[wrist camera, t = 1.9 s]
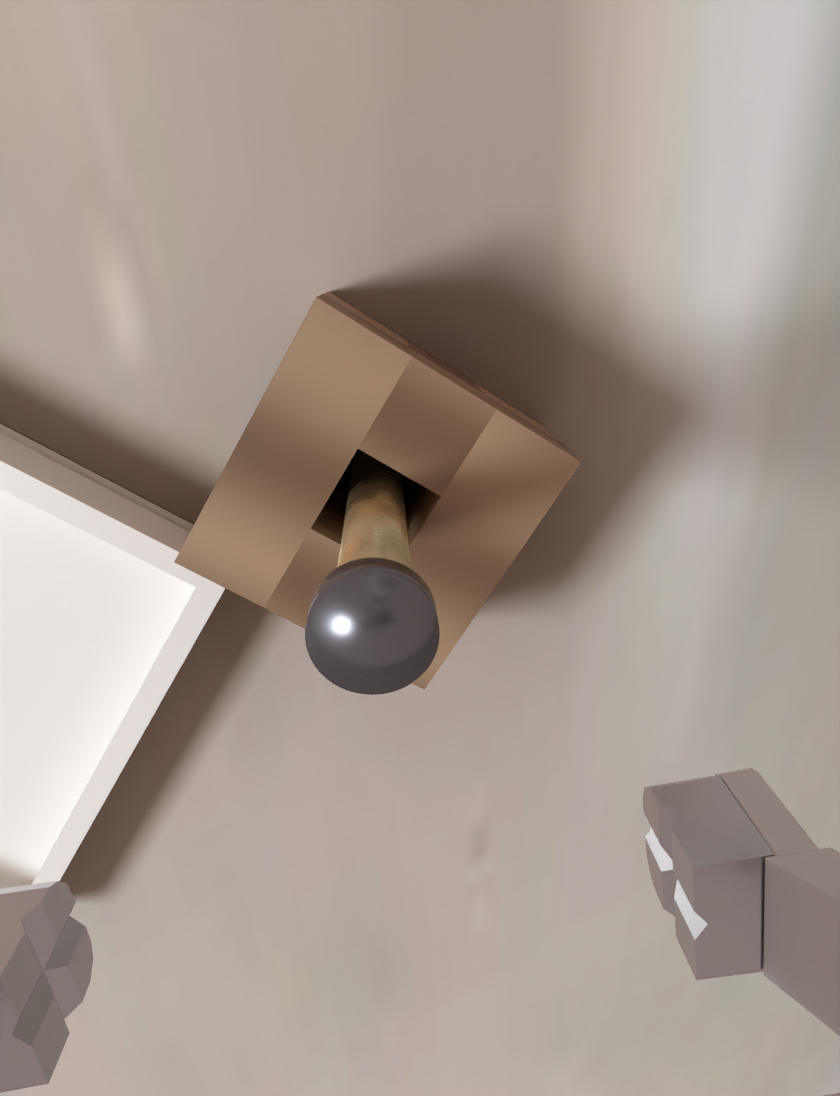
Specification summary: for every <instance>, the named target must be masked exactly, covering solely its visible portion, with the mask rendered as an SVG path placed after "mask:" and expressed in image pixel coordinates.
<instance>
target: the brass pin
mask: <svg viewBox="0 0 840 1096" xmlns="http://www.w3.org/2000/svg"><path fill="white" fill-rule="evenodd" d="M439 638H440V632H439V623H438V617H437V611H436V605H435V601H434V598H433V595H432V593H431V591H430V589H429V587H428V586H427V584H426V583H425V581H424V580H423V579H422V578H421V577H420V576H419V575H418V574H417V573H416V572H414V571H413V570H412V569H411V563H410V553H409V543H408V533H407V523H406V513H405V502H404V492H403V482H402V474H401V473H399V472H398V471H396V470H394V469H392V468H391V467H389V466H387V465H386V464H384V463H382V462H380V461H379V460H377V459H375V458H373V457H372V456H370V455H368V454H367V453H365V452H363V451H361V450H360V451H359V452H358V453H357V454H356V456H355V458H354V460H353V465H352V471H351V478H350V485H349V492H348V499H347V505H346V512H345V519H344V526H343V532H342V539H341V546H340V553H339V560H338V566H337V568H336V569H334V570H333V571H331V572H330V573H329V574H328V575H327V576H326V577H325V578H324V579H323V580H322V581H321V582H320V584H319V585H318V587H317V588H316V590H315V592H314V594H313V597H312V600H311V604H310V608H309V613H308V618H307V623H306V628H305V640H306V646H307V650H308V653H309V656H310V658H311V660H312V662H313V663H314V665H315V667H316V668H317V669H318V670H319V672H320V673H321V674H322V675H323V676H324V677H325V678H327V679H328V680H329V681H331V682H332V683H333V684H335V685H337V686H339V687H341V688H343V689H345V690H348V691H352V692H355V693H360V694H372V695H373V694H384V693H390V692H393V691H396V690H399V689H401V688H404V687H406V686H407V685H409V684H411V683H413V682H414V681H415V680H417V679H418V678H419V677H420V676H421V675H422V674H423V673H424V672H425V671H426V670H427V669H428V667H429V666H430V664H431V663H432V661H433V659H434V657H435V655H436V652H437V649H438V645H439Z"/></svg>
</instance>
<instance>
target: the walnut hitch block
mask: <svg viewBox="0 0 840 1096" xmlns="http://www.w3.org/2000/svg"><path fill="white" fill-rule="evenodd" d="M357 449H360V450H361V451H363V452H365V453H367V454H368V455H370V456H372V457H373V458H375V459H377V460H379V461H380V462H382V463H384V464H386V465H387V466H389V467H391V468H392V469H394V470H396V471H398V472H399V473H401V474H403V475H405V476H406V477H408V478H410V479H411V480H413V483H412V485H411V486H410V488H409V490H408V491H407V493H406V494H405V496H404V502H405V513H406V523H407V533H408V543H409V553H410V563H411V569H412V570H413V571H414V572H416V573H417V574H418V575H419V576H420V577H421V578H422V579H423V580H424V581H425V583H426V584H427V586H428V587H429V589H430V591H431V593H432V595H433V598H434V601H435V605H436V611H437V617H438V623H439V632H440V638H439V645H438V649H437V652H436V655H435V657H434V659H433V661H432V663H431V664H430V666H429V667H428V669H427V670H426V671H425V672H424V673H423V674H422V675H421V676H420V677H419V678H418V679H417V680H415V681H414V682H413V684H415V685H417V686H419V687H421V688H423V689H425V688H426V686H427V685H428V683H429V682H430V681H431V679H432V678H433V676H434V675H435V673H436V672H437V670H438V669H439V668H440V666H441V665H442V663H443V662H444V660H445V659H446V657H447V656H448V655H449V653H450V652H451V650H452V649H453V647H454V646H455V644H456V643H457V642H458V640H459V639H460V637H461V636H462V634H463V633H464V631H465V630H466V629H467V627H468V626H469V624H470V623H471V621H472V620H473V618H474V617H475V616H476V614H477V613H478V611H479V610H480V608H481V607H482V605H483V604H484V603H485V601H486V600H487V598H488V597H489V595H490V594H491V592H492V591H493V590H494V588H495V587H496V585H497V584H498V582H499V581H500V579H501V578H502V577H503V575H504V574H505V572H506V571H507V569H508V568H509V566H510V565H511V564H512V562H513V561H514V559H515V558H516V556H517V555H518V553H519V552H520V551H521V549H522V548H523V546H524V545H525V543H526V542H527V540H528V539H529V538H530V536H531V535H532V533H533V532H534V530H535V529H536V527H537V526H538V524H539V523H540V522H541V520H542V519H543V517H544V516H545V514H546V513H547V511H548V510H549V509H550V507H551V506H552V504H553V503H554V501H555V500H556V498H557V497H558V496H559V494H560V493H561V491H562V490H563V488H564V487H565V485H566V484H567V483H568V481H569V480H570V478H571V477H572V475H573V474H574V472H575V471H576V470H577V468H578V467H579V465H580V464H581V461H580V460H579V459H578V458H577V457H576V456H575V455H574V454H573V453H572V452H571V451H570V450H569V449H568V448H566V447H565V446H564V445H563V444H562V443H561V442H560V441H559V440H558V439H557V438H556V437H555V436H554V435H553V434H552V433H551V432H550V431H549V430H548V429H547V428H546V427H545V426H543V425H542V424H540V423H538V422H537V421H535V420H534V419H532V418H530V417H529V416H527V415H526V414H524V413H522V412H521V411H519V410H518V409H516V408H514V407H513V406H511V405H510V404H508V403H506V402H505V401H503V400H502V399H500V398H498V397H497V396H495V395H494V394H492V393H490V392H489V391H487V390H486V389H484V388H482V387H481V386H479V385H478V384H476V383H474V382H473V381H471V380H470V379H468V378H467V377H465V376H463V375H462V374H460V373H459V372H457V371H455V370H454V369H452V368H451V367H449V366H447V365H446V364H444V363H443V362H441V361H439V360H438V359H436V358H435V357H433V356H431V355H430V354H428V353H427V352H425V351H423V350H422V349H420V348H419V347H417V346H415V345H414V344H412V343H411V342H409V341H407V340H406V339H404V338H403V337H401V336H399V335H398V334H396V333H395V332H393V331H391V330H390V329H388V328H387V327H385V326H383V325H382V324H380V323H379V322H377V321H375V320H374V319H372V318H371V317H369V316H367V315H366V314H364V313H363V312H361V311H359V310H358V309H356V308H355V307H353V306H351V305H350V304H348V303H347V302H345V301H343V300H342V299H340V298H339V297H337V296H336V295H334V294H332V293H331V292H327V293H324V294H322V295H320V296H318V297H316V298H315V300H314V302H313V304H312V306H311V308H310V309H309V311H308V313H307V315H306V317H305V319H304V321H303V322H302V324H301V326H300V328H299V330H298V332H297V334H296V336H295V337H294V339H293V341H292V343H291V345H290V347H289V349H288V350H287V352H286V354H285V356H284V358H283V360H282V362H281V364H280V365H279V367H278V369H277V371H276V373H275V375H274V377H273V378H272V380H271V382H270V384H269V386H268V388H267V390H266V392H265V393H264V395H263V397H262V399H261V401H260V403H259V405H258V406H257V408H256V410H255V412H254V414H253V416H252V418H251V419H250V421H249V423H248V425H247V427H246V429H245V431H244V433H243V434H242V436H241V438H240V440H239V442H238V444H237V446H236V447H235V449H234V451H233V453H232V455H231V457H230V459H229V461H228V462H227V464H226V466H225V468H224V470H223V472H222V474H221V475H220V477H219V479H218V481H217V483H216V485H215V487H214V489H213V490H212V492H211V494H210V496H209V498H208V500H207V502H206V503H205V505H204V507H203V509H202V511H201V513H200V515H199V517H198V518H197V520H196V522H195V524H194V526H193V528H192V530H191V531H190V533H189V535H188V537H187V539H186V541H185V543H184V544H183V546H182V548H181V550H180V552H179V554H178V556H177V558H176V559H175V561H174V562H175V563H177V564H179V565H181V566H183V567H184V568H186V569H188V570H190V571H192V572H194V573H196V574H198V575H200V576H202V577H204V578H206V579H208V580H210V581H212V582H214V583H216V584H218V585H220V586H222V587H224V588H226V589H228V590H230V591H232V592H234V593H236V594H238V595H240V596H242V597H244V598H246V599H247V600H249V601H251V602H253V603H255V604H257V605H259V606H261V607H263V608H265V609H267V610H269V611H271V612H273V613H275V614H277V615H279V616H281V617H283V618H285V619H287V620H289V621H291V622H293V623H295V624H297V625H299V626H301V627H303V628H306V623H307V618H308V613H309V608H310V604H311V600H312V597H313V594H314V592H315V590H316V588H317V587H318V585H319V584H320V582H321V581H322V580H323V579H324V578H325V577H326V576H327V575H328V574H329V573H330V572H331V571H333V570H334V569H336V568H337V566H338V560H339V553H340V546H341V539H342V532H343V526H344V519H345V512H346V505H347V499H348V495H347V494H345V493H344V492H342V491H340V490H338V489H337V488H335V487H336V485H337V483H338V481H339V480H340V478H341V476H342V475H343V473H344V471H345V470H346V468H347V466H348V464H349V463H350V461H351V459H352V458H353V456H354V454H355V453H356V451H357Z"/></svg>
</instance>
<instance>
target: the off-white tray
mask: <svg viewBox="0 0 840 1096" xmlns="http://www.w3.org/2000/svg"><path fill="white" fill-rule="evenodd" d="M193 526H194V525H193V524H191V523H189V522H187V521H186V520H184V519H182V518H180V517H178V516H176V515H174V514H172V513H170V512H168V511H166V510H165V509H163V508H161V507H159V506H157V505H155V504H153V503H151V502H149V501H147V500H145V499H143V498H142V497H140V496H138V495H136V494H134V493H132V492H130V491H128V490H126V489H124V488H122V487H121V486H119V485H117V484H115V483H113V482H111V481H109V480H107V479H105V478H103V477H101V476H100V475H98V474H96V473H94V472H92V471H90V470H88V469H86V468H84V467H82V466H80V465H78V464H77V463H75V462H73V461H71V460H69V459H67V458H65V457H63V456H61V455H59V454H57V453H56V452H54V451H52V450H50V449H48V448H46V447H44V446H42V445H40V444H38V443H36V442H35V441H33V440H31V439H29V438H27V437H25V436H23V435H21V434H19V433H17V432H15V431H13V430H12V429H10V428H8V427H6V426H4V425H2V424H0V889H2V888H9V887H16V886H24V885H31V884H39V883H46V882H53V881H60V879H61V878H62V876H63V874H64V872H65V871H66V869H67V867H68V865H69V864H70V862H71V860H72V858H73V856H74V855H75V853H76V851H77V849H78V848H79V846H80V844H81V842H82V841H83V839H84V837H85V835H86V834H87V832H88V830H89V828H90V826H91V825H92V823H93V821H94V819H95V818H96V816H97V814H98V812H99V811H100V809H101V807H102V805H103V804H104V802H105V800H106V798H107V796H108V795H109V793H110V791H111V789H112V788H113V786H114V784H115V782H116V781H117V779H118V777H119V775H120V774H121V772H122V770H123V768H124V766H125V765H126V763H127V761H128V759H129V758H130V756H131V754H132V752H133V751H134V749H135V747H136V745H137V744H138V742H139V740H140V738H141V736H142V735H143V733H144V731H145V729H146V728H147V726H148V724H149V722H150V721H151V719H152V717H153V715H154V714H155V712H156V710H157V708H158V706H159V705H160V703H161V701H162V699H163V698H164V696H165V694H166V692H167V691H168V689H169V687H170V685H171V683H172V682H173V680H174V678H175V676H176V675H177V673H178V671H179V669H180V668H181V666H182V664H183V662H184V661H185V659H186V657H187V655H188V653H189V652H190V650H191V648H192V646H193V645H194V643H195V641H196V639H197V638H198V636H199V634H200V632H201V631H202V629H203V627H204V625H205V623H206V622H207V620H208V618H209V616H210V615H211V613H212V611H213V609H214V608H215V606H216V604H217V602H218V601H219V599H220V597H221V595H222V593H223V592H224V590H225V588H224V587H222V586H220V585H218V584H216V583H214V582H212V581H210V580H208V579H206V578H204V577H202V576H200V575H198V574H196V573H194V572H192V571H190V570H188V569H186V568H184V567H183V566H181V565H179V564H177V563H175V562H174V561H175V559H176V558H177V556H178V554H179V552H180V550H181V548H182V546H183V544H184V543H185V541H186V539H187V537H188V535H189V533H190V531H191V530H192V528H193Z"/></svg>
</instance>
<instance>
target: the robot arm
mask: <svg viewBox="0 0 840 1096" xmlns="http://www.w3.org/2000/svg"><path fill="white" fill-rule="evenodd" d="M643 807H644V813H645V815H646V817H647V819H648V821H649V823H650V825H651V827H652V828H651V829H650V831H649V832H648V834H647V835H646V837H645V841H646V852H647V860H648V864H649V869H650V874H651V878H652V881H653V884H654V887H655V890H656V893H657V895H658V897H659V900H660V902H661V904H662V906H663V909H665V910H666V911H668V912H669V913H671V914H672V915H674V916H675V925H676V937H677V939H678V941H679V944H680V946H681V948H682V950H683V952H684V954H685V956H686V959H687V961H688V963H689V965H690V967H691V969H692V971H693V974H694V976H695V978H696V980H701V979H709V978H716V977H724V976H732V975H740V974H747V973H755V972H763V971H764V976H765V977H767V978H768V979H769V980H770V981H772V982H773V983H774V984H775V985H777V986H778V987H779V988H780V989H782V990H783V991H784V992H785V993H787V994H788V995H789V996H790V997H792V998H793V999H794V1000H795V1001H797V1002H798V1003H799V1004H800V1005H802V1006H803V1007H804V1008H805V1009H807V1010H808V1011H809V1012H810V1013H812V1014H813V1015H814V1016H815V1017H817V1018H818V1019H819V1020H820V1021H822V1022H823V1023H824V1024H825V1025H827V1026H828V1027H829V1028H830V1029H832V1030H833V1031H834V1032H835V1033H837V1034H838V1035H839V1036H840V852H838V851H836V850H834V849H832V848H824V849H818V847H817V846H816V845H815V844H814V842H813V841H812V840H811V839H810V837H809V836H808V835H807V834H806V832H805V831H804V830H803V828H802V827H801V826H800V825H799V823H798V822H797V821H796V820H795V818H794V817H793V816H792V815H791V813H790V812H789V811H788V809H787V808H786V807H785V806H784V804H783V803H782V802H781V801H780V799H779V798H778V797H777V796H776V794H775V793H774V792H773V790H772V789H771V788H770V787H769V785H768V784H767V783H766V782H765V780H764V779H763V778H762V777H761V775H760V774H759V773H758V772H757V771H755V770H753V769H751V768H749V769H743V770H738V771H732V772H727V773H721V774H716V775H715V776H709V777H703V778H697V779H691V780H685V781H679V782H673V783H667V784H661V785H655V786H649V787H645V788H644V793H643ZM75 903H76V901H75V899H74V897H73V895H72V893H71V890H70V888H69V886H68V884H67V883H63V882H60V881H53V882H46V883H39V884H31V885H24V886H16V887H9V888H2V889H0V1093H1V1092H7V1091H12V1090H17V1089H22V1088H28V1087H33V1086H38V1085H43V1084H48V1083H49V1081H50V1079H51V1076H52V1074H53V1071H54V1069H55V1067H56V1064H57V1062H58V1059H59V1057H60V1055H61V1052H62V1050H63V1047H64V1045H65V1043H66V1040H67V1038H68V1035H69V1031H68V1028H67V1025H66V1022H65V1020H64V1019H65V1018H66V1017H67V1016H68V1015H69V1014H70V1013H71V1012H72V1011H73V1010H74V1009H75V1008H76V1007H77V1006H78V1005H79V1004H80V1003H81V1002H82V1001H83V999H84V996H85V993H86V991H87V988H88V986H89V983H90V979H91V971H92V963H93V953H92V945H91V940H90V937H89V934H88V932H87V929H86V927H85V926H84V925H82V924H81V923H80V922H78V921H77V920H75V919H74V918H72V917H71V916H70V914H71V912H72V909H73V907H74V905H75ZM824 1096H840V1093H837V1094H830V1095H824Z"/></svg>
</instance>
